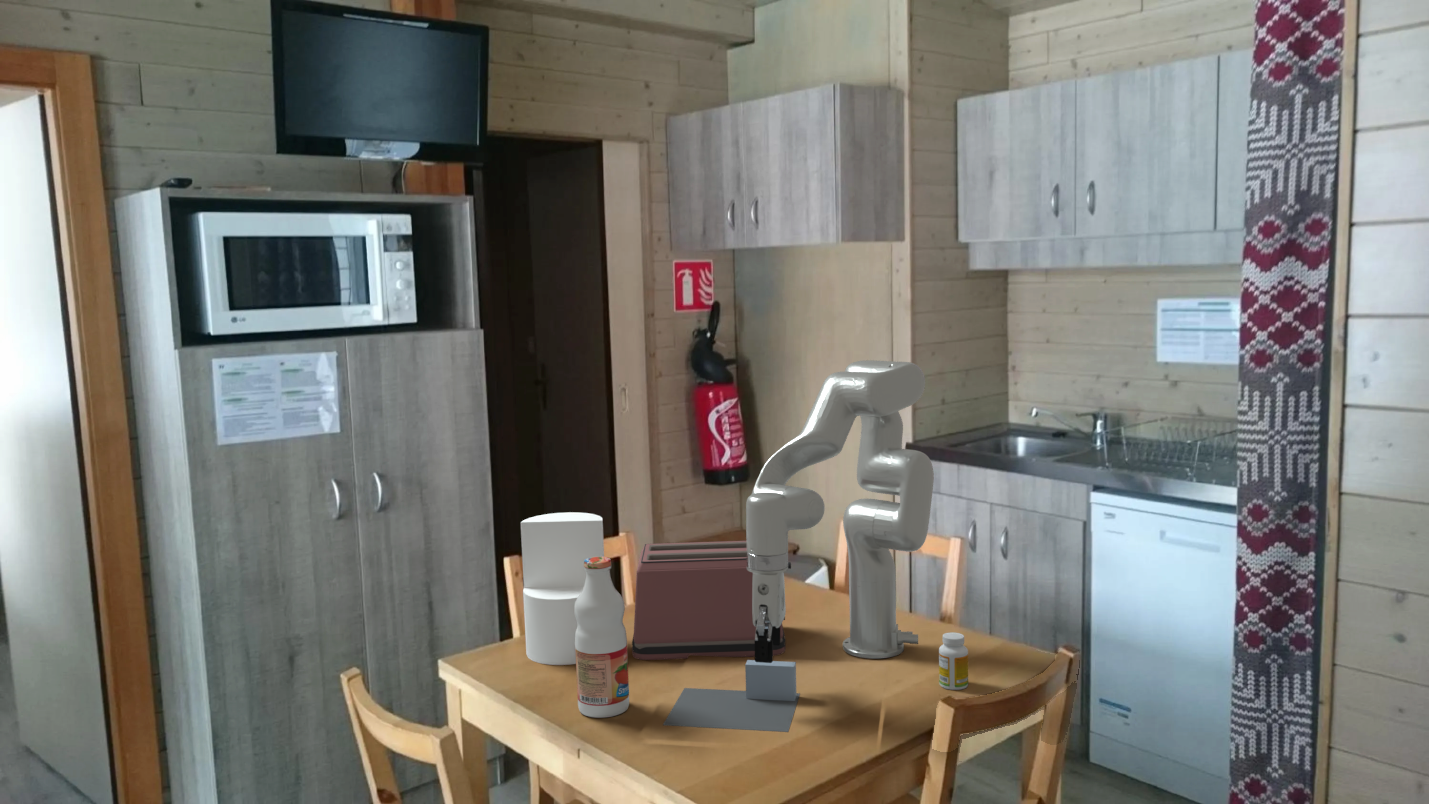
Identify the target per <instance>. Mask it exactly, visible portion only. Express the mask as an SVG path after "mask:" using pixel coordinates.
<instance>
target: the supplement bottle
mask: <svg viewBox="0 0 1429 804" xmlns="http://www.w3.org/2000/svg"><path fill="white" fill-rule="evenodd" d="M942 643H943V644H941V645H940V646H939V648H938V684H939V686H940V687H942V688H944V689H945V690H951V691H959V690H965V689H966V688H967V687H968V686H969V650H968V648H967V647H966V646H965V645H964V644H965V635H964V634H962V633H960V632H945V633H943V634H942Z"/></svg>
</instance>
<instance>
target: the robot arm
mask: <svg viewBox="0 0 1429 804" xmlns="http://www.w3.org/2000/svg"><path fill="white" fill-rule="evenodd" d="M925 387H926V378H925V374H924V372H923V370H922V368H921V367H920V366H919V365H918V364H916V363H913V362H910V361H909V362H908V361H896V360H895V361H893V360H892V361H890V360H888V361H887V360H874V359H873V360H871V359H870V360H868V359H867V360H859V361H858V360H857V361H853V362H851V363H849V364H848V365H847V366H846V368H845V370H844V371H836V372H833V373H831V374H829V375H828V376H827V377H826V378H825V380H824V381H823V383H822V384H821V387H820V390H819V391H818V393H817V396H816V398H815V401H814V402H813V405H812V407H811V409H810V411H809V414H808V415H807V419H806V421H805V423H804V425H803V426H802V429H801V431H800V433H799V434H798V435H796V436H795V437H794V438H792V439H790V440H789V441H788V442H787V443H785V444H784V445H783V446H781V448H780V449H778V450H777V451H776V452H775V453H773V454H772V455H771V456H770V457H769V458H768V460H767V461H766V462H765V463H764V465H763V466H762V468H761V470H760V473H759V475H758V477H757V479H756V481H755V484H754V486H753V488H752V492H751V494H750V495H749V496H748V497H747V498H746V503H745V507H746V508H745V514H746V515H745V517H746V518H745V519H746V520H745V525H746V527H745V530H746V532H745V533H746V535H745V536H746V537H745V538H746V540H745V541H747V570H748V571H749V572H752V573H753V577H752V617H753V625H754V626H755V627H756V633H755V657H754V660H755V662H763V663H772V661H774V656H773V645H780V625H781V624H782V625H783V621H784V620H783V619H784V617H785V618H786V612H787V611H786V593H785V592H786V588H785V587H786V586H785V583H786V582H785V572H788V570H789V569H788V562H789V535H788V534H789V531H792V530H793V531H794V530H798V531H799V530H808V529H811V528H814V527H815V526H816V525H818V524H819V523H820V521H821V520H822V519H823V517H824V515H825V509H826V508H825V501H824V499H823V498H822V496H821V495H820V494H819V493H818V492H817V491H815V490H813V489H809V488H805V487H799V486H798V487H797V486H794V485H793V486H792V485H786V484H787V482H788V481H789V480H790V479H791V478H792V477H793V476H794V475H796V474H797V473H799V472H800V471H802V470H803V469H806V468H808V467H810V466H813V465H817V464H818V463H819V464H820V463H821V462H822V463H823V462H824V461H827V460H829V459H833V458H835V457H836V456H838V455H839V454H841V453H842V450H843V448H844V445H845V443H846V441H847V438H848V435H849V433H850V432H851V429H852V427H853V424H854V422H855V421H856V418H857V417H859V416H860V421H861V422H860V423H861V428H860V429H861V431H860V439H859V440H860V441H859V448H858V457H857V467H856V480H857V481H856V482H857V484H858V486H859V487H860V488H862V489H863V490H865V491H867V492H872V493H876V494H881V495H883V494H884V495H891V496H897V497H898V496H899V500H900V501H899V502H895V501H889V500H884V499H875V498H858V499H855V500H853V501H851V502H850V503H849V504H848V505H847V507H846V508H845V510H844V513H843V519H842V522H843V525H842V526H843V531H844V537H845V541H846V545H847V553H848V556H847V557H848V583H849V585H848V586H849V590H848V591H849V593H848V594H849V595H848V596H849V637H847V638H845V639H844V640H843V642H842V650H843V651H844V652H845V653H847V654H849V655H851V656H854V657H857V658H861V659H862V658H863V659H872V660H873V659H875V660H876V659H888V658H893V657H896V656H898V655H900V654H902V653H903V652H904V650H905V644H912V645H913V644H914V645H918V644H919V634H916V633H915V634H914V633H913V632H914V631H902V630H901V629H899V624H898V623H897V600H896V599H897V597H896V596H897V593H896V592H897V591H896V590H897V587H896V586H897V584H896V583H897V581H896V579H897V578H896V576H897V575H896V574H897V573H896V564H895V560H894V558H893V555H892V553H891V551H890V550H894V551H899V552H906V553H911V552H916V551H918V550H919V549H921V548H922V547H923V546H924V545H925V542H926V540H927V536H928V532H929V526H930V525H929V524H930V517H931V509H932V508H931V507H932V500H933V491H934V475H935V473H934V467H933V464H932V460H931V459H930V457H929V456H928V455H927V454H926V453H924V452H922V451H920V450H915V449H907V448H903V446H902V444H903V433H904V432H903V431H904V423H903V419H902V416H901V413H900V411H901V410H905V409H906V408H908V407H910V406H913V405H914V404H916V403H917V402H918V401H919V400H920V399H921V397H922V396H923V394H924V391H925V389H926V388H925Z"/></svg>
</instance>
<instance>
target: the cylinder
mask: <svg viewBox="0 0 1429 804" xmlns="http://www.w3.org/2000/svg"><path fill="white" fill-rule="evenodd" d="M603 522H604V521H603V517H602V516H601V515H598V514H595V513H588V512H573V511H572V512H571V511H569V512H554V513H553V512H551V513H547V514H546V513H544V514H541V515H535V516H532V517H528V518H526V519H524V520H523V519H522V521H520V538H521V540H520V542H521V558H522V561H521V562H522V575H523V576H522V577H523V580H522V581H523V589H522V595H523V614H524V633H525V634H524V636H525V650H526V651H525V653H526V656H527V658H528V659H529V660H531V661H532V662H535V663H538V664H542V665H550V666H552V665H553V666H564V665H565V666H567V665H576V651H575V632H576V629H577V626H578V623H577V619H576V617H575V612H574V606H575V601H576V599H577V598H578V596H579V595H580V593H581V592H582V590H583V587H584V584H585V580H586V571H585V569H584V561H585V560H586V559H588V558H591V557H605V545H604V543H605V542H604V523H603Z"/></svg>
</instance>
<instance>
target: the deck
mask: <svg viewBox="0 0 1429 804" xmlns="http://www.w3.org/2000/svg"><path fill="white" fill-rule="evenodd" d="M744 667H745V691H746V699H763V700H783V701H795V699H796V696H797V695H796V693H797V662H796V661H782V660H781V661H780V660H778V661H777V660H773V661H772V663H763V662H755V659H747V660H746V663H745V664H744Z"/></svg>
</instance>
